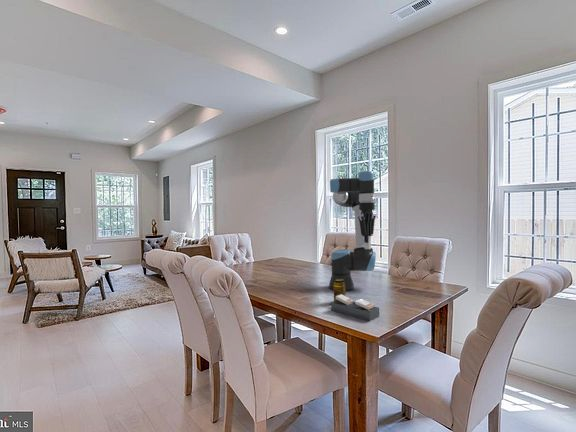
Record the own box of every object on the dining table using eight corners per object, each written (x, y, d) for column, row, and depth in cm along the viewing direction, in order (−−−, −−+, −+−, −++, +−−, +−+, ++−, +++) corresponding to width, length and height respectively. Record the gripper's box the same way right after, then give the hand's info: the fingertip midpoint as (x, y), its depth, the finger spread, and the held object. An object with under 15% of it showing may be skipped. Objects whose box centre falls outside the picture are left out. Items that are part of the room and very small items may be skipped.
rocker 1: (335, 298, 147) (336, 295, 146) (341, 296, 150) (341, 293, 150) (347, 305, 142) (348, 301, 142) (352, 302, 145) (353, 299, 145)
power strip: (325, 309, 149) (325, 299, 149) (335, 305, 155) (335, 296, 155) (369, 321, 132) (369, 310, 131) (379, 316, 137) (379, 306, 137)
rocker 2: (355, 303, 139) (355, 300, 139) (360, 301, 142) (360, 298, 142) (368, 309, 134) (368, 306, 134) (373, 307, 137) (374, 304, 137)
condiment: (330, 303, 159) (330, 280, 159) (339, 299, 165) (338, 277, 165) (342, 305, 154) (342, 282, 154) (351, 301, 161) (350, 278, 160)
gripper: (366, 202, 146) (367, 250, 147) (380, 201, 155) (381, 248, 156) (353, 202, 152) (354, 249, 152) (367, 202, 161) (368, 247, 161)
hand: (367, 248), depth 154 cm, fingers closed
